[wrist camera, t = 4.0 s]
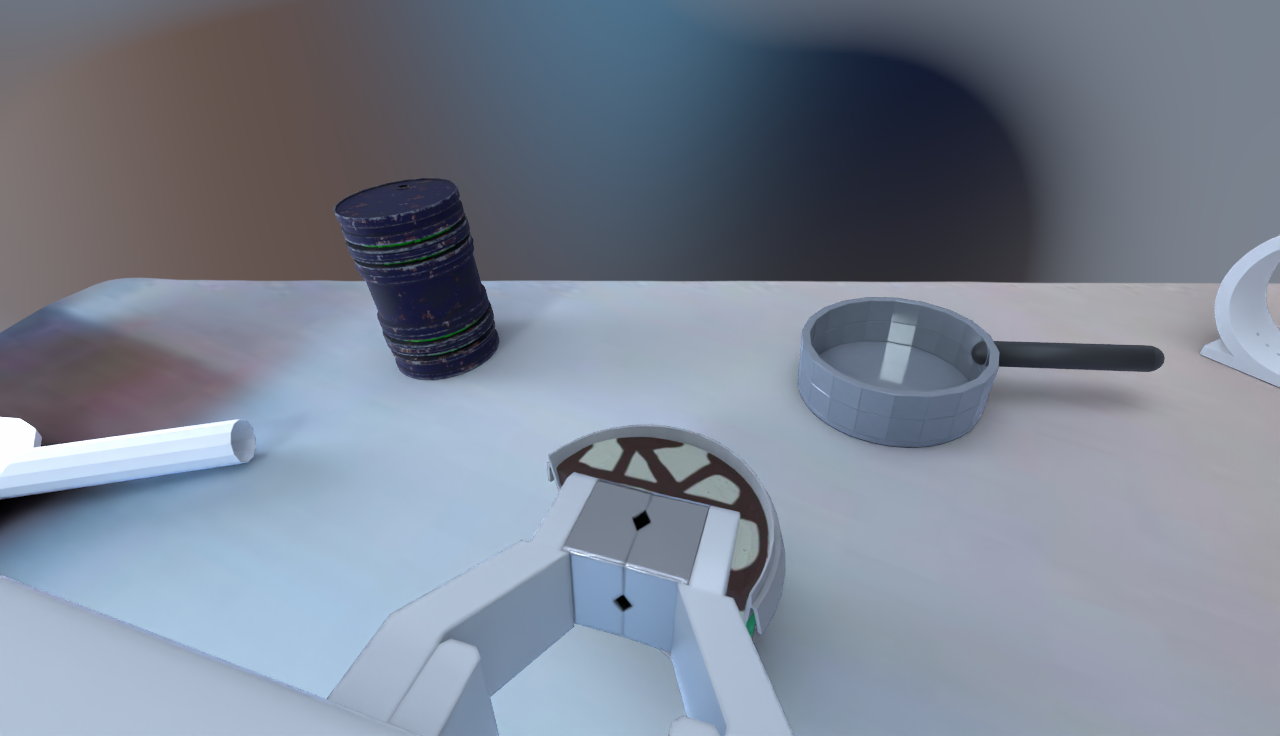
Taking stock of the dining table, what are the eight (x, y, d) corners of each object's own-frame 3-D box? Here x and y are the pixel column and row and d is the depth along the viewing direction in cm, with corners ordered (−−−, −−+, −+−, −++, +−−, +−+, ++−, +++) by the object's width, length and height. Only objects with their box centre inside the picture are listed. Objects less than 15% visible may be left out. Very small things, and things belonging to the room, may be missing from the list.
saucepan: (956, 345, 48) (969, 298, 45) (1007, 454, 37) (1028, 401, 35) (795, 340, 50) (799, 295, 48) (801, 440, 40) (806, 390, 37)
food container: (821, 629, 29) (847, 496, 23) (754, 730, 25) (764, 603, 19) (644, 510, 36) (629, 386, 30) (572, 576, 32) (540, 450, 27)
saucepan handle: (1148, 362, 39) (1160, 340, 38) (1163, 377, 38) (1175, 355, 37) (965, 356, 42) (971, 335, 41) (972, 370, 40) (978, 349, 39)
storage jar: (498, 370, 50) (452, 207, 42) (386, 389, 49) (315, 227, 41) (501, 316, 58) (463, 171, 50) (405, 332, 58) (349, 186, 49)
